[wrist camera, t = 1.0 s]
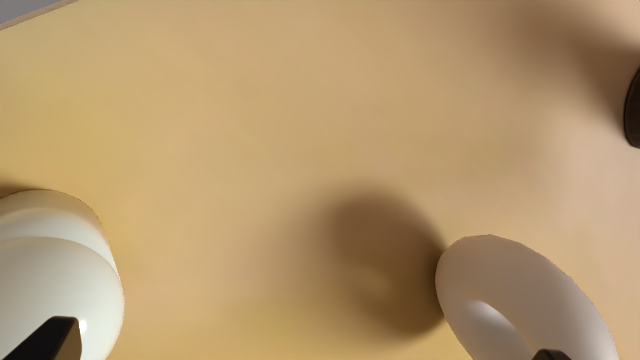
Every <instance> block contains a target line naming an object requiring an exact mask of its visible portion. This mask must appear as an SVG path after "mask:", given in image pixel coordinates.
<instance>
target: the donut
mask: <svg viewBox="0 0 640 360" xmlns="http://www.w3.org/2000/svg"><path fill="white" fill-rule="evenodd" d="M435 286H436V292H437V297H438V301H439V303H440V306H441V308H442V310H443V313H444V315H445V317H446V320H447V322H448V324H449V325H450V327H451V329H452V330H453V332H454V334H455V335H456V337H457V339H458V340H459V342H460V343H461V344H462V345H463V347H464V348H465V349H466V351H467V352H468V353H469V355H470V356H471V357H472V358H473V360H532V358H533V357H534V355H535V354H536V353H537V351H538V350H540V349H543V348H546V349H557V350H560V351H562V352H564V353H565V354H566V355H567V356H568V357H570V358H571V359H572V360H619V358H618V355H617V351H616V348H615V345H614V341H613V338H612V335H611V332H610V330H609V328H608V326H607V325H606V323H605V321H604V320H603V318H602V316H601V315H600V313H599V311H598V310H597V308H596V307H595V305H594V303H593V302H592V301H591V300H590V299H589V298H588V297H587V295H586V294H585V293H584V292H583V291H582V290H581V289H580V288H579V286H578V285H577V284H576V283H575V282H574V281H573V280H572V279H571V277H569V276H568V275H567V274H566V273H564V272H563V271H562V270H561V269H559V268H558V267H557V266H556V265H555V264H553V263H552V262H551V261H550V260H548V259H547V258H546V257H544V256H543V255H541V254H539V253H537V252H535V251H534V250H532V249H530V248H528V247H526V246H525V245H523V244H521V243H519V242H515V241H512V240H508V239H505V238H501V237H498V236H494V235H491V234H490V235H480V236H469V237H464V238H462V239H459V240H457V241H456V242H455V243H454V244H452V245H451V246H450V247H449V248H448V249H447V250H446V251H445V252H444V253H443V254H442V255H441V257H440V259H439V262H438V265H437V270H436V274H435Z"/></svg>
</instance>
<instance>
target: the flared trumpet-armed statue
mask: <svg viewBox="0 0 640 360" xmlns="http://www.w3.org/2000/svg"><path fill="white" fill-rule="evenodd" d="M625 129H626V134H627V136H628V138H629V140H630V142H631V143H632V145H633V146H634V147H636V148H639V149H640V71H639V73H638V74H637V76H636V78H635V80H634V82H633V84H632V86H631V89H630V91H629V94H628V97H627V102H626V109H625Z"/></svg>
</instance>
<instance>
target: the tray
mask: <svg viewBox="0 0 640 360" xmlns="http://www.w3.org/2000/svg"><path fill="white" fill-rule="evenodd" d="M75 1H78V0H0V30H2V29H5V28H7V27H10V26H13V25H15V24H18V23H20V22H23V21H26V20H28V19H31V18H33V17H36V16H39V15H41V14H44V13H46V12H49V11H52V10H54V9H57V8H59V7H62V6H65V5H67V4H70V3H72V2H75Z"/></svg>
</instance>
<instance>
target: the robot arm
mask: <svg viewBox="0 0 640 360" xmlns="http://www.w3.org/2000/svg"><path fill="white" fill-rule="evenodd" d="M81 354H82V341H81V334H80V326H79V321H78V319H77V318H76V317H71V316H53V317H50V318H49V319H47V320H46V321H45V322H44V323H43V324H42V325H41V326H39V327H38V328H37V329H36V330H35V331H34V332H33V333H32V334H30V335H29V336H28V337H27V338H26V339H25V340H24V341H22V342H21V343H20V344H19V345H18V346H17V347H16V348H14V349H13V350H12V351H11V352H10V353H9V354H8V355H6V356H5V357H4V358H3V359H2V360H80V358H81ZM532 360H572V359H571V358H570V357H568V356H567V355H566V354H565V353H564V352H562V351H560V350H557V349H546V348H543V349H540V350H538V351H537V353H536V354H535V355H534V357H533V358H532Z"/></svg>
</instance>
